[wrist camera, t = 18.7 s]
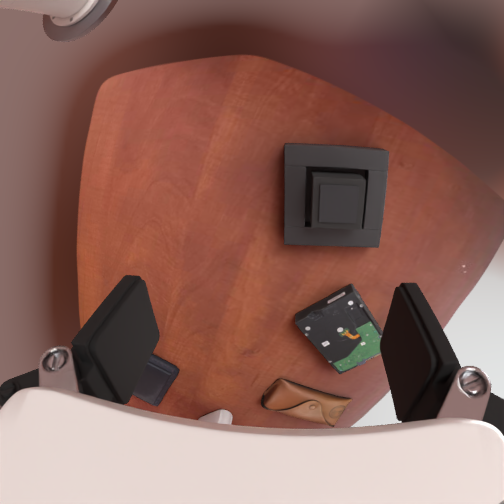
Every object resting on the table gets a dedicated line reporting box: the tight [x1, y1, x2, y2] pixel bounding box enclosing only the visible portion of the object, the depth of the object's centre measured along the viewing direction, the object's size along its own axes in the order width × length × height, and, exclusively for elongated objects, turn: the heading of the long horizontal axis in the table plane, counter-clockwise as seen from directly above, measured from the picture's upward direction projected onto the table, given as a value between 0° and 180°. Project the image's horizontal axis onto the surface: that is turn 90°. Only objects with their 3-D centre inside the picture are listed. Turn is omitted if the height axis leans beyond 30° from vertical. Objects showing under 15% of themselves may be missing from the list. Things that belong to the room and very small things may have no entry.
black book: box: [132, 354, 179, 406], centre depth 58 cm, size 20×2×15 cm
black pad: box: [310, 170, 366, 230], centre depth 33 cm, size 6×6×4 cm
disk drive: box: [295, 284, 383, 374], centre depth 44 cm, size 10×3×15 cm
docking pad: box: [284, 143, 389, 248], centre depth 35 cm, size 12×12×3 cm
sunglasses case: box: [261, 379, 352, 427], centre depth 53 cm, size 18×7×7 cm, turn 68°
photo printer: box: [198, 409, 232, 425], centre depth 56 cm, size 10×4×12 cm, turn 136°
